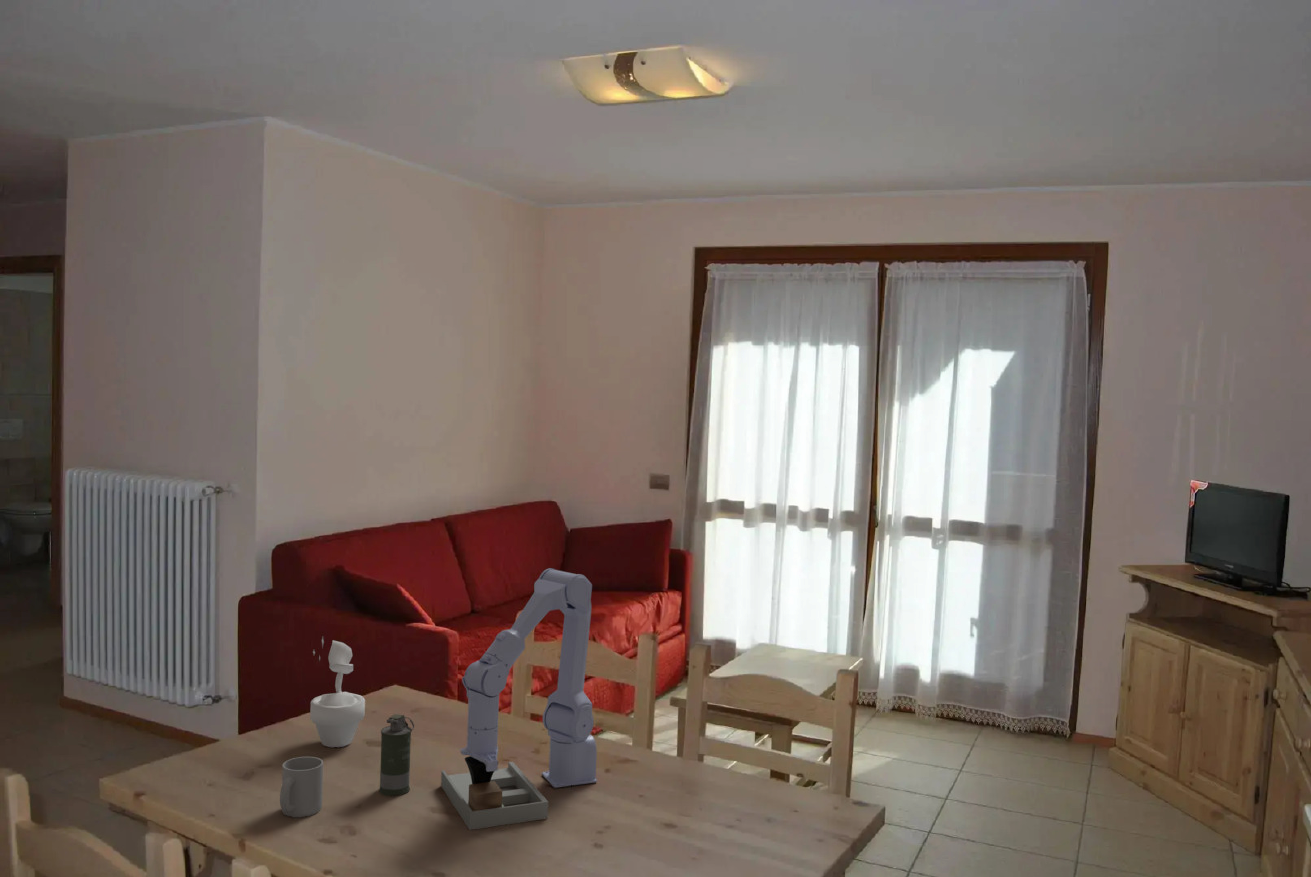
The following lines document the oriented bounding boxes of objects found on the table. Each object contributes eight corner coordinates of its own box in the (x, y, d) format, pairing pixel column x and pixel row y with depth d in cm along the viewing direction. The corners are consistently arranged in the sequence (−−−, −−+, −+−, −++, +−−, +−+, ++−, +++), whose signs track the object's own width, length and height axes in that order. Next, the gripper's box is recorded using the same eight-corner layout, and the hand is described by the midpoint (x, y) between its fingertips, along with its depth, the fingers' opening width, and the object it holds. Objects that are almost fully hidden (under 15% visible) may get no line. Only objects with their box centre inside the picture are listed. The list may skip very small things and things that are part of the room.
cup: (329, 805, 195) (330, 759, 194) (298, 826, 185) (300, 778, 185) (296, 800, 197) (297, 754, 196) (264, 820, 187) (265, 773, 187)
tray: (512, 776, 213) (512, 761, 213) (547, 818, 193) (548, 801, 193) (441, 786, 207) (441, 770, 206) (469, 830, 187) (470, 812, 187)
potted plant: (309, 736, 232) (312, 627, 231) (362, 733, 235) (366, 626, 234) (308, 755, 220) (311, 641, 219) (364, 752, 223) (368, 639, 222)
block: (494, 801, 195) (494, 781, 195) (501, 812, 190) (502, 791, 190) (468, 805, 193) (468, 784, 193) (475, 815, 188) (476, 794, 188)
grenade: (402, 797, 200) (404, 722, 199) (373, 794, 201) (375, 719, 200) (415, 785, 206) (418, 712, 205) (388, 782, 207) (390, 709, 207)
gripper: (452, 715, 199) (450, 784, 200) (472, 740, 186) (469, 813, 187) (487, 712, 202) (485, 779, 203) (509, 735, 189) (506, 807, 190)
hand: (480, 795), depth 195 cm, fingers closed
